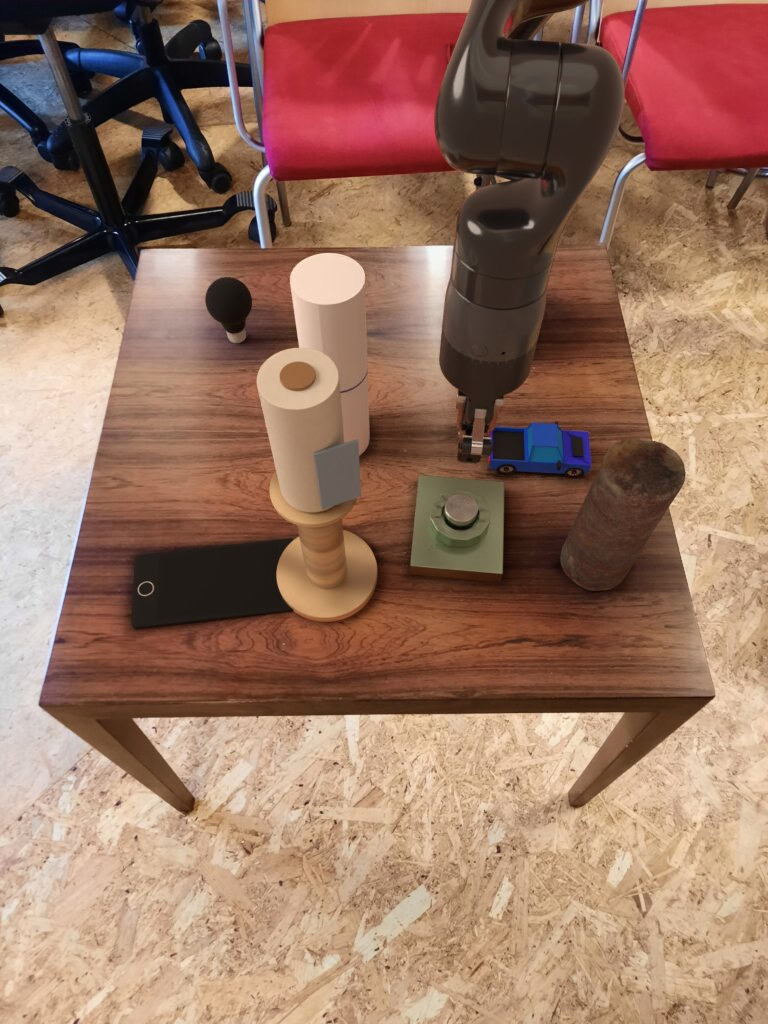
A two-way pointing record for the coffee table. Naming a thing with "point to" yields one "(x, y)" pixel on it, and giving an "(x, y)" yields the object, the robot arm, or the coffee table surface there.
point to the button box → (458, 531)
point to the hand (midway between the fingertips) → (468, 456)
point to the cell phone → (207, 584)
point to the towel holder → (323, 563)
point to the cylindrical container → (336, 330)
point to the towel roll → (308, 430)
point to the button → (460, 511)
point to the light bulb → (229, 306)
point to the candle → (621, 512)
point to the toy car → (540, 450)
